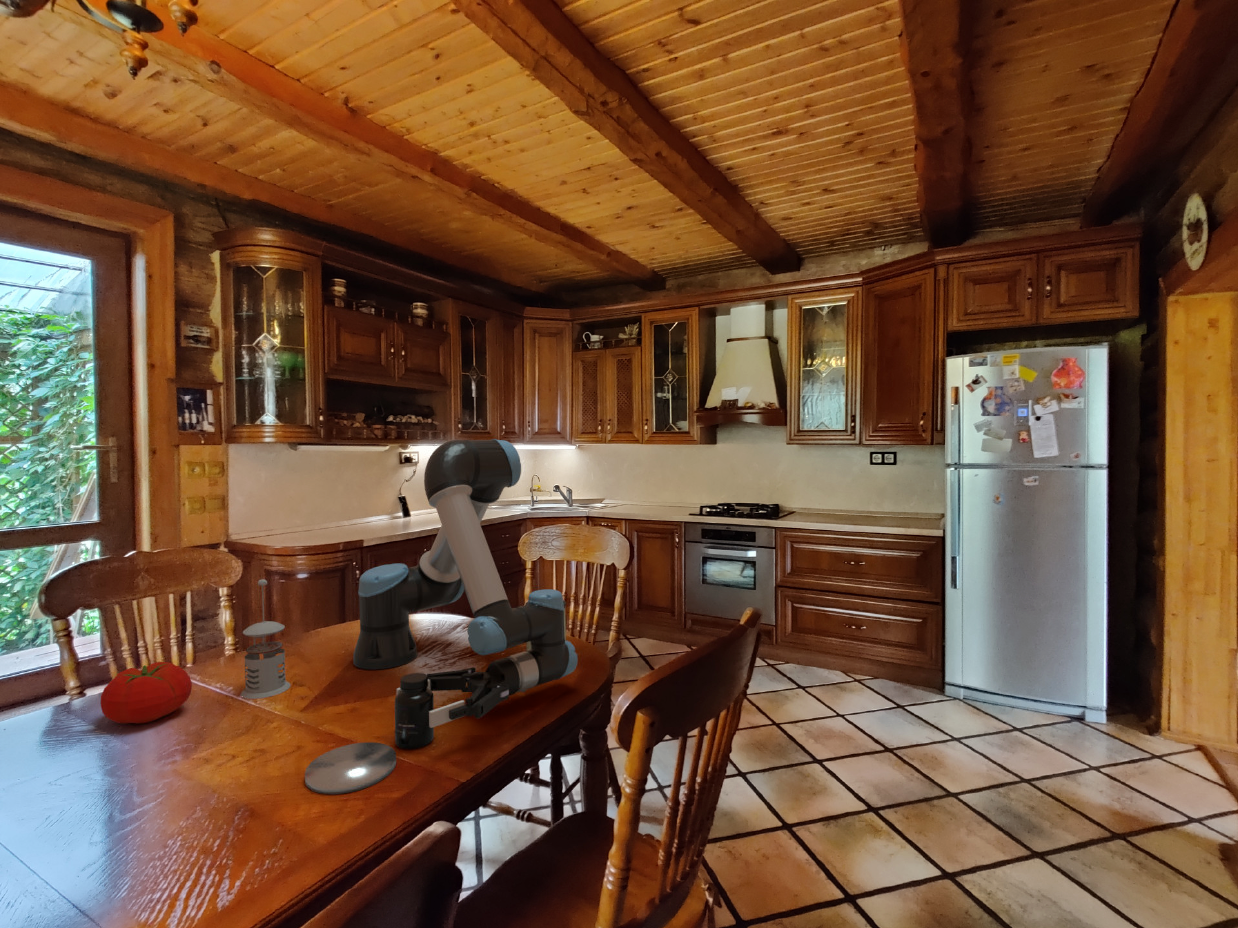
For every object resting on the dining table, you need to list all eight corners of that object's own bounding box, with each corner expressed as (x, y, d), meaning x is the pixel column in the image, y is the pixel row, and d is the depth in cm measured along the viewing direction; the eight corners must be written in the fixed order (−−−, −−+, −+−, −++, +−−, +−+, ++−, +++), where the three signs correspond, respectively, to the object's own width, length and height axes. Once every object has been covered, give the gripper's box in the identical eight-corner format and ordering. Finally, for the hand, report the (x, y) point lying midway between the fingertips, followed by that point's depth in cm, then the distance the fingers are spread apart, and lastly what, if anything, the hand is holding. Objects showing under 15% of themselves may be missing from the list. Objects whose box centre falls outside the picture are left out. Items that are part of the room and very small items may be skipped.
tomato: (173, 694, 133) (171, 650, 133) (204, 713, 124) (202, 666, 123) (89, 719, 121) (87, 671, 121) (116, 742, 112) (113, 690, 111)
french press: (244, 702, 128) (240, 586, 127) (235, 686, 137) (231, 577, 136) (295, 689, 135) (292, 579, 134) (283, 675, 144) (279, 571, 143)
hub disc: (294, 769, 102) (294, 762, 102) (377, 740, 111) (377, 734, 111) (320, 805, 92) (320, 797, 92) (409, 770, 101) (409, 763, 101)
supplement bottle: (397, 754, 107) (396, 687, 106) (393, 737, 113) (391, 674, 112) (437, 744, 110) (436, 680, 109) (430, 729, 116) (429, 667, 115)
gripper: (547, 712, 116) (446, 752, 101) (480, 676, 134) (385, 706, 119) (547, 673, 116) (445, 708, 101) (479, 642, 134) (384, 668, 119)
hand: (412, 707), depth 110 cm, fingers open, 13 cm apart
